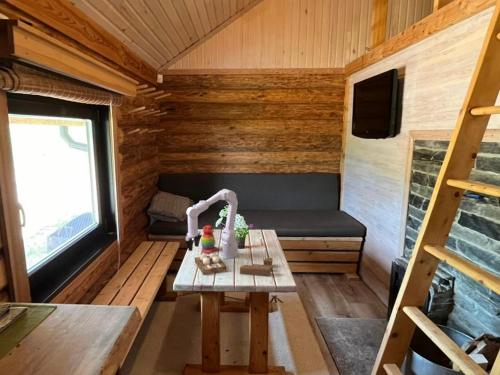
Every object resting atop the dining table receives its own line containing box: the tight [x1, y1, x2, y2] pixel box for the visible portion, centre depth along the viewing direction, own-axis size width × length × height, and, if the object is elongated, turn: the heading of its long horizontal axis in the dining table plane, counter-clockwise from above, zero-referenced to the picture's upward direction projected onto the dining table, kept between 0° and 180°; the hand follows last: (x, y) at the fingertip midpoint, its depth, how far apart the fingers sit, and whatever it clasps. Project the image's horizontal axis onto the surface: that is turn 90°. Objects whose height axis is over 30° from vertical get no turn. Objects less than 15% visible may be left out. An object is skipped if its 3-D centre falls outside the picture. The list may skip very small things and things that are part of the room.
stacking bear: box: [200, 224, 219, 255], centre depth 219 cm, size 11×10×18 cm
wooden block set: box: [239, 257, 274, 277], centre depth 191 cm, size 17×6×18 cm
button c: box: [209, 252, 217, 260], centre depth 199 cm, size 4×4×4 cm
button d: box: [213, 255, 220, 264], centre depth 194 cm, size 4×4×4 cm
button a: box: [199, 253, 208, 262], centre depth 197 cm, size 4×4×4 cm
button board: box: [194, 254, 228, 276], centre depth 195 cm, size 14×20×4 cm
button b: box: [203, 258, 210, 266], centre depth 191 cm, size 4×4×4 cm
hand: (193, 248), depth 197 cm, fingers open, 7 cm apart
